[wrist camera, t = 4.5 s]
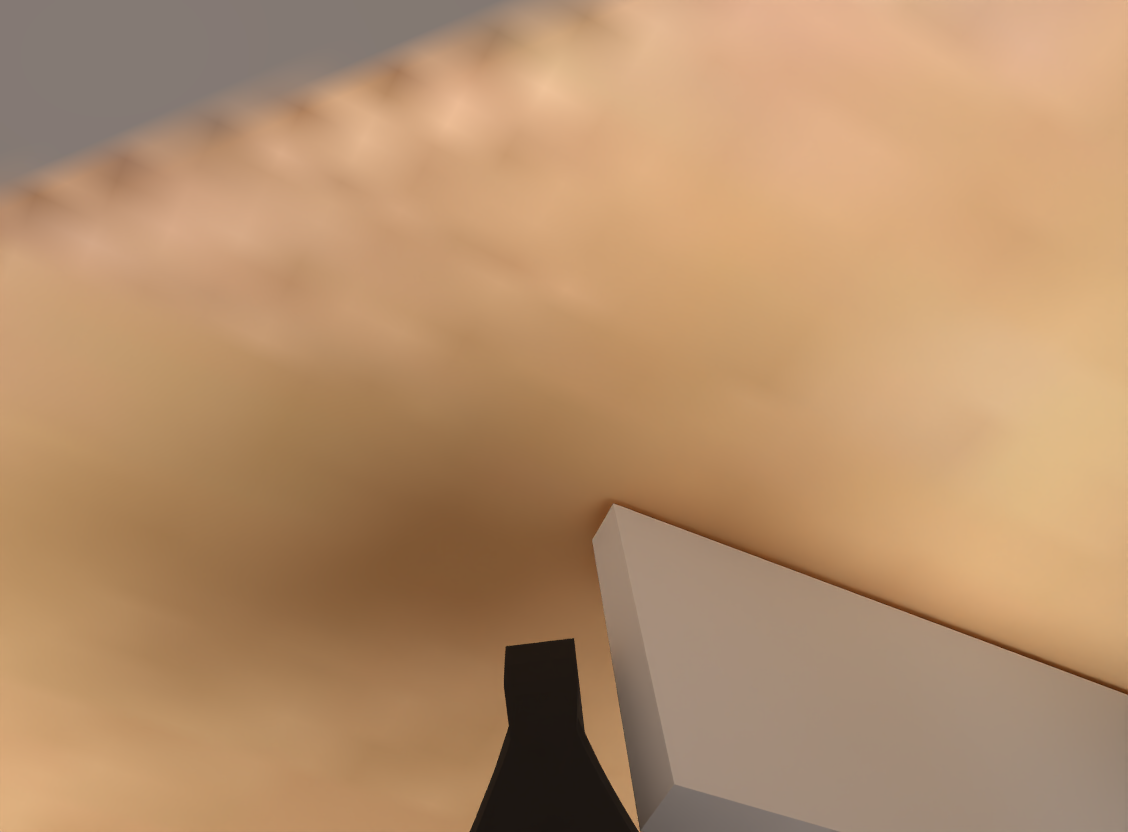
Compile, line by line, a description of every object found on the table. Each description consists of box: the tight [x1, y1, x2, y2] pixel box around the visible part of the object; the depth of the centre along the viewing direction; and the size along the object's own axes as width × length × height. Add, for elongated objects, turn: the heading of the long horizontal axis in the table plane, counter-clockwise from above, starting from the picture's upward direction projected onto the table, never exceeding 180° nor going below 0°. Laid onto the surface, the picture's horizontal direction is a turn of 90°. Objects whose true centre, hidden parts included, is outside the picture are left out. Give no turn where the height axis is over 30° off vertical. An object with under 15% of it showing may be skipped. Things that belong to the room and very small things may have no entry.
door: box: [592, 503, 1128, 832], centre depth 14 cm, size 2×14×6 cm, turn 65°
